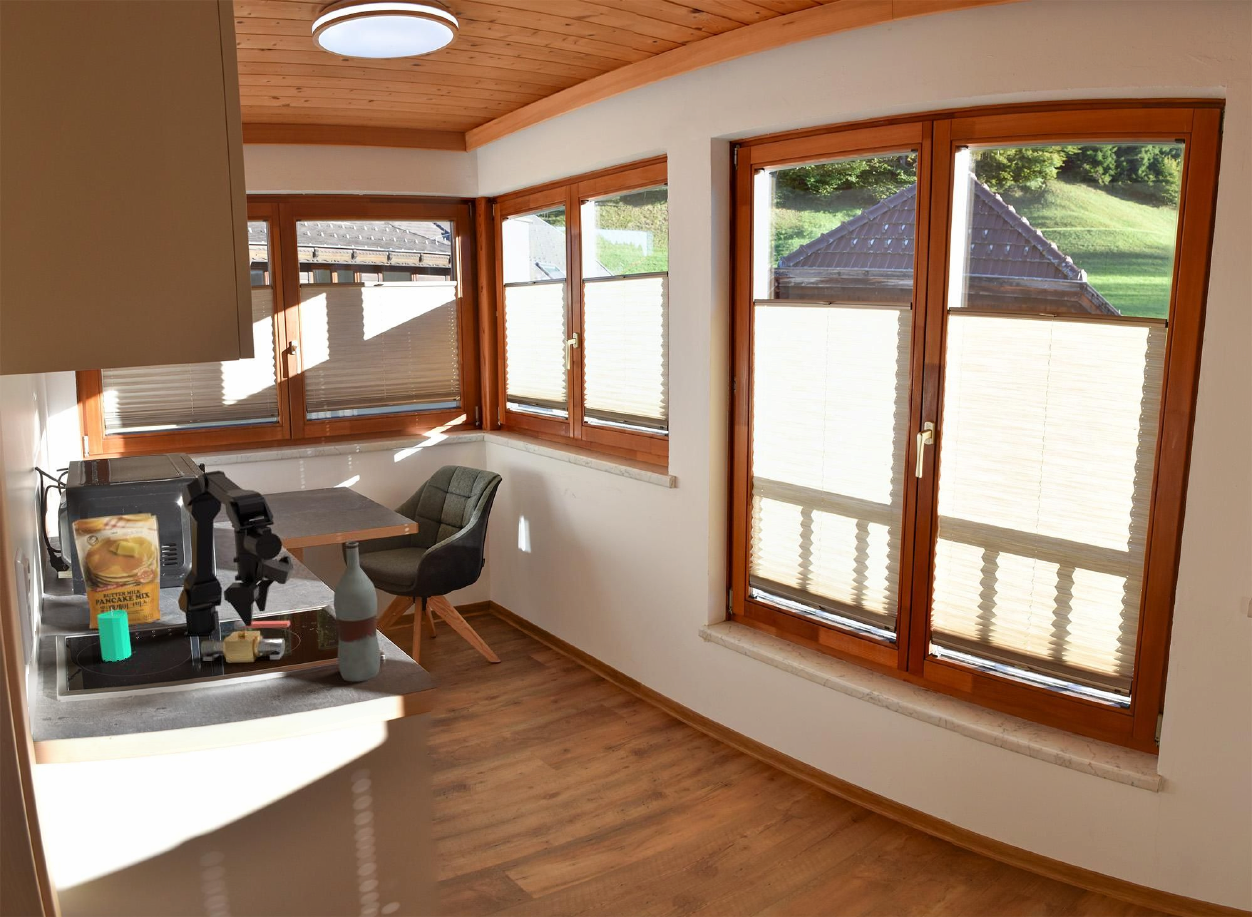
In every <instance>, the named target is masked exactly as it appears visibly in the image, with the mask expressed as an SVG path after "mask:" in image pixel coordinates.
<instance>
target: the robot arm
mask: <svg viewBox="0 0 1252 917" xmlns="http://www.w3.org/2000/svg"><path fill="white" fill-rule="evenodd" d="M181 498H182V499H181V500H182V504H183V506H184V509H185V510H186V511H187V513H188V514H189V516H190V517H191V559H190V560H191V561H190V562H191V568H190V569H191V570H190V571H189V573H188V574H187V575H186V577H185V578H184V579H183V587H182V588H183V589H182V590H181V592H180V595H179V597H178V601H177V603H178V608H179V610H180V611H181V612H183V613H184V614H185V622H186V630H187V631H186V632H184V636H189V637H190V636H191V637H192V636H210V635H212V634H214V633H215V632H216V630H218V629H219V628H220V627H221V624H220V619H219V611H218V610H217V609H216V607H219V606H222V605H221V604H222V598H224V601H225V602H227V603H229V604H230V605H231V607H233V609H234V610H235V612H236V614H238V616H239V618H240V620H243V622H244V623H245V625H246V626H251V625H252V621H253V612H254V603H255V604H256V607H257V608H258V611H259V612H265V610H266V606H267V601H268V597H269V591H270V587H271V585H272V584H273V583H274V582H277V583H278V584H279V585H286V584H287V582H288V581H289V580H290V579H291V575H292V571H293V570H294V563H292V559H291V558H292V557H291V556H288V555H285V554H284V555H283V556H281V558H280V559H277V556H278V555H279V554H280V552H282V548H283V543H282V541H281V538H280V537H279V535H277V534H276V533H273V532H272V527H270V526H272V525H274V515H273V513H272V511H271V508H270V506H269V504H268V502H267V501H266V500H267V499H266V498H265V497H264V496H263V494H261V493H260V492H259V491H256V490H253V489H243V488H242V487H240V486H239V485H237V483H235V482H234V481H232V480H231V479H230V478H228V477H227V476H226V473H225V472H224V471H223V470H213V471H207V472H202V473H200V474H199V475H198V476H197V478H196V479H194V480H193V481H191V482H189V483H187V485H186V486H185V487H184V488H183V490H182V493H181ZM222 504H223V505H224V506H225V514H226V516H227V517H228V519H229V522H230V523H231V527H232V529H234V530H233V531H234V532H233V533H234V546H235V556H234V557H233V559H232V560H233V563H235V564H236V568H237V574H235V576H234V581H235V582H232V583H231V584H230V585H229V586H228V587H226V589H225V590H224V591H223V587H222V586H221V584H222V583H221V582H220V581H219V579H218V578H217V577H216V575H215V574H214V572H213V566H214V563H213V562H214V521H215V519H216V518H217V516H218V515H219V513H220V512H221V510H222ZM240 581H241V582H240ZM222 594H223V595H222ZM222 596H223V597H222Z"/></svg>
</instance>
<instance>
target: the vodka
mask: <svg viewBox="0 0 1252 917" xmlns="http://www.w3.org/2000/svg"><path fill="white" fill-rule="evenodd" d="M345 550H346V551H345V552H346V569H345V571H344V573H343V574H342V576H341V578H340V579H339V581H338V583H337V585H336V586H335V589H334V594H333V608H334V613H335V619H336V625H337V633H338V646H337V647H338V648H337V664H338V668H339V672H340V675H341V677H342V678H341V679H343V680H345V681H347V682H352V683H353V682H364V681H368V680H371V679H374V678H375V677H377V676H378V675H379V671H380V667H381V657H382V656H381V650H380V645H379V640H378V636H377V620H378V619H377V617H378V616H377V615H378V597H377V592H376V591H377V590H376V588H375V586H374V585H375V584H374V582H372V581H371V579H370V578H369V577H368V575H367V574H366V572H364V570H363V569H362V567H360V557H359V555H360V554H359V542H358V541H348V542H346V543H345Z"/></svg>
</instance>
